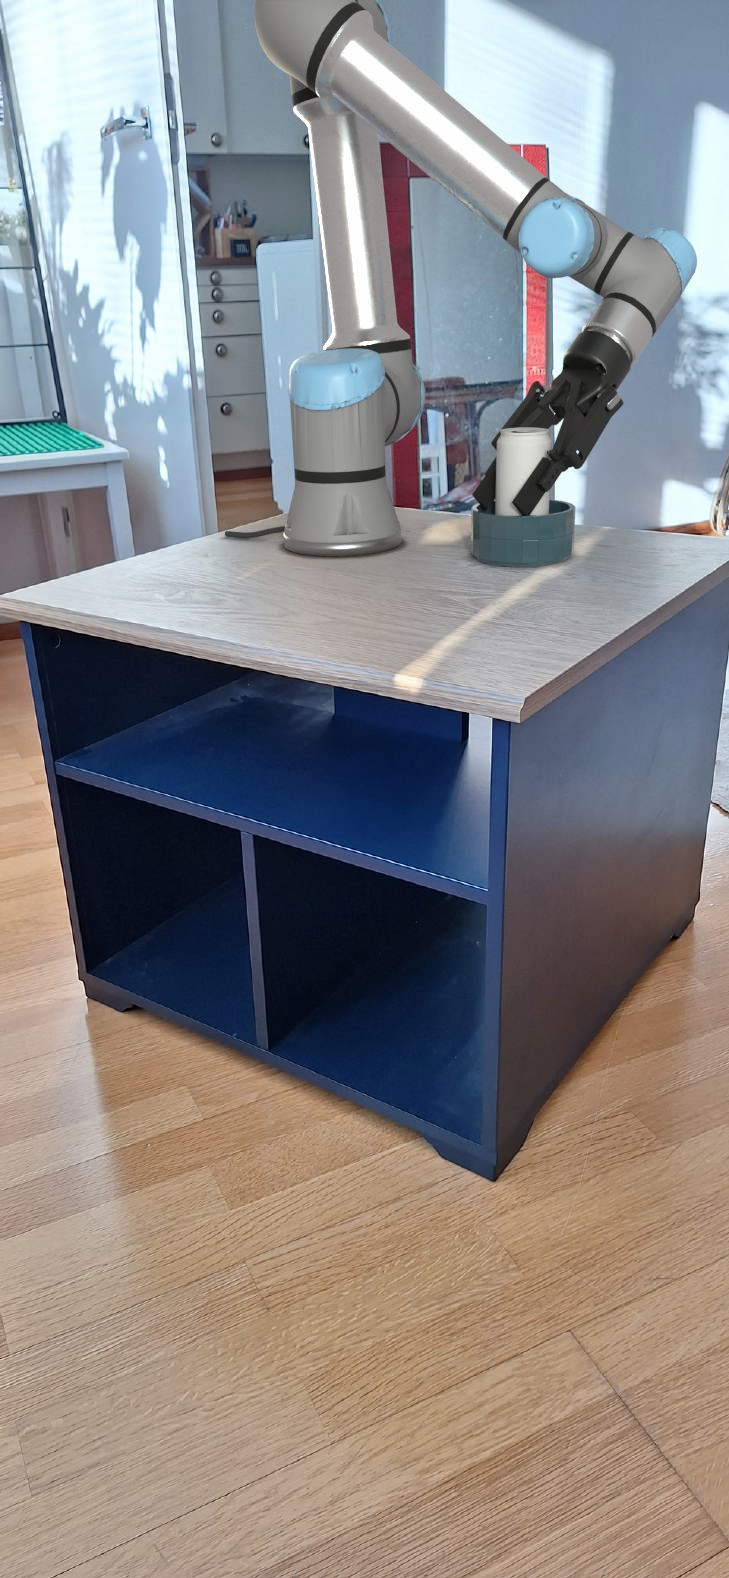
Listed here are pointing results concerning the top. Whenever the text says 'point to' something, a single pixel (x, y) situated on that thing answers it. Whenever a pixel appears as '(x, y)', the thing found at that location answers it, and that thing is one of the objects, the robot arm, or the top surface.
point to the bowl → (523, 536)
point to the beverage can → (519, 466)
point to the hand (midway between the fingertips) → (499, 506)
